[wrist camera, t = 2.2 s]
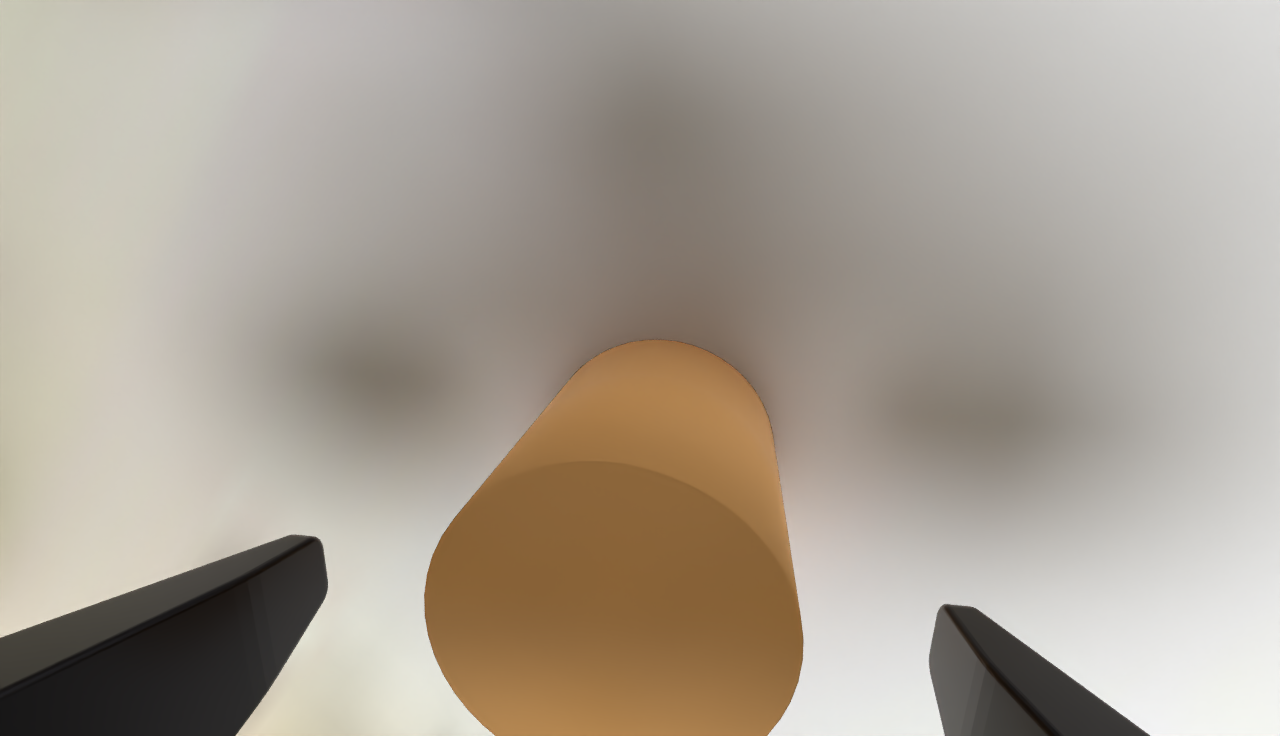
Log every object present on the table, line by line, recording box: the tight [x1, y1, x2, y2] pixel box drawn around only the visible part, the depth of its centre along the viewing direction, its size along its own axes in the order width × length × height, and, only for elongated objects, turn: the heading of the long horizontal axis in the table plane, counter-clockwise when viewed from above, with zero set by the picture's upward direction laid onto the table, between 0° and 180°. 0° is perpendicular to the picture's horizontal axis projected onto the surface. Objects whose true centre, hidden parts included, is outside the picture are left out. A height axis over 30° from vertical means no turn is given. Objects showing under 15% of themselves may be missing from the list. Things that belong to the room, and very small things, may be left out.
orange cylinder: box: [424, 340, 803, 736], centre depth 11 cm, size 5×5×6 cm
